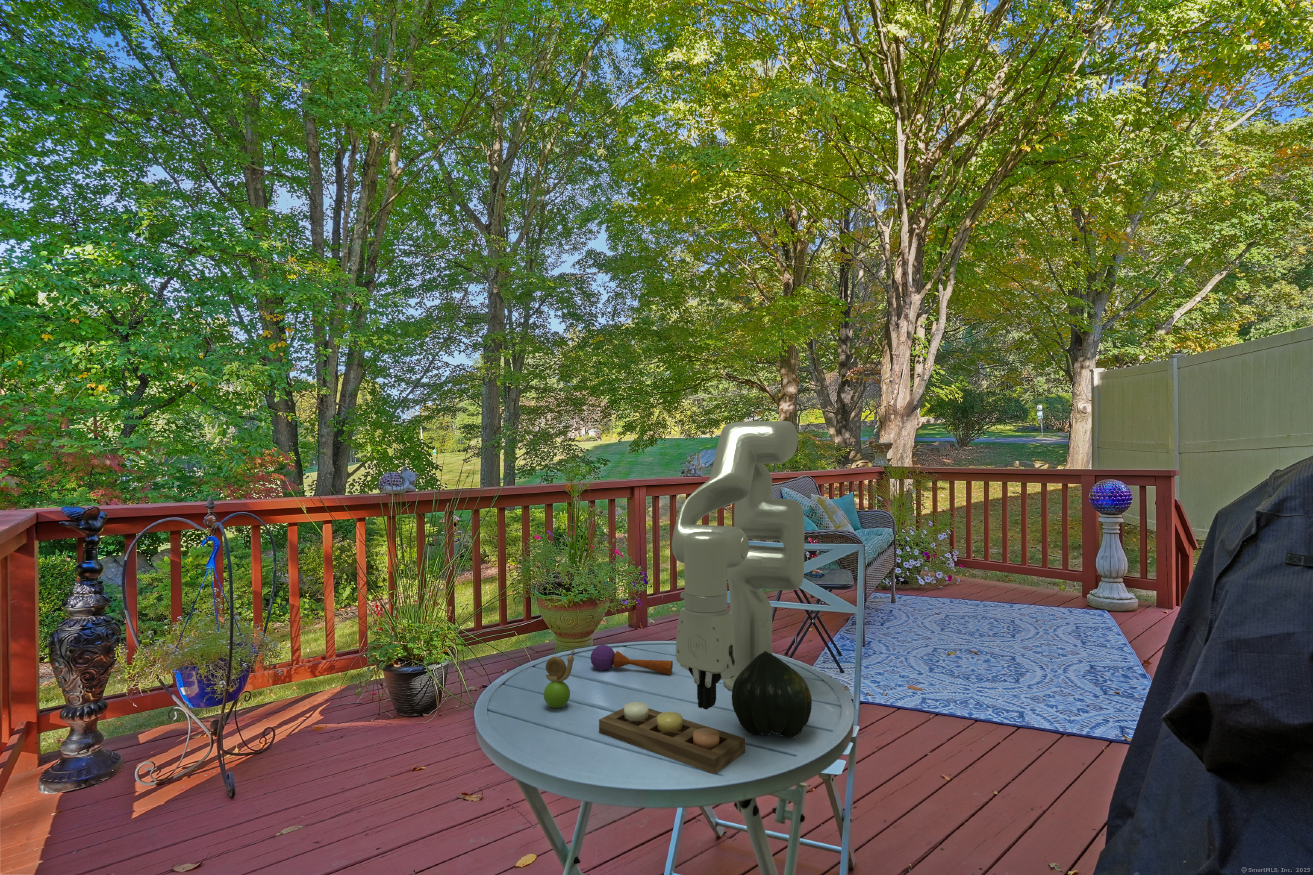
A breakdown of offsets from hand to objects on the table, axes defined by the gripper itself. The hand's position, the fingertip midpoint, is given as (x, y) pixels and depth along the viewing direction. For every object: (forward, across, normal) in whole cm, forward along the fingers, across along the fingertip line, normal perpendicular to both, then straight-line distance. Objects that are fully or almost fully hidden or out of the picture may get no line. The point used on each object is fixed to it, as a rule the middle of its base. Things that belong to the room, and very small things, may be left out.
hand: (706, 705), depth 117 cm
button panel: (+8, -8, 0) cm, 11 cm away
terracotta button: (+6, 0, -1) cm, 7 cm away
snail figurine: (+9, -36, -2) cm, 37 cm away
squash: (+9, +4, +15) cm, 18 cm away
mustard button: (+6, -8, 0) cm, 10 cm away
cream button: (+6, -16, 0) cm, 17 cm away
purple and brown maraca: (+9, -39, +25) cm, 47 cm away
